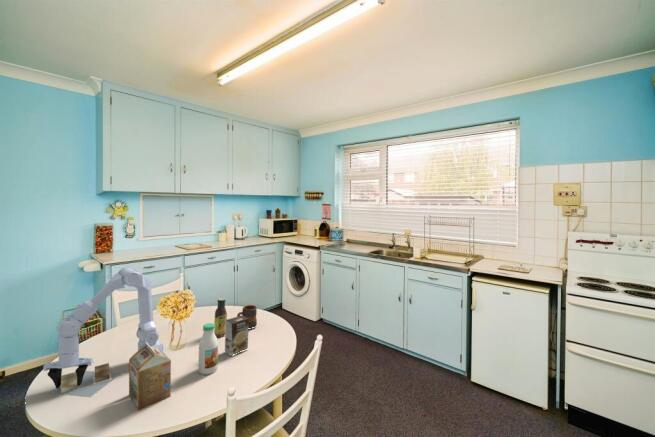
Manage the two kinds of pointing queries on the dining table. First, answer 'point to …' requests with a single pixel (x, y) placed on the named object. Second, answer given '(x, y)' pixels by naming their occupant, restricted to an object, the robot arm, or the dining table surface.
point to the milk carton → (149, 377)
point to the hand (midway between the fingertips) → (69, 385)
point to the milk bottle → (208, 350)
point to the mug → (250, 314)
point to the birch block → (68, 382)
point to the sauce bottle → (220, 318)
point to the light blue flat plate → (87, 385)
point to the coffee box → (236, 334)
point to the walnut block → (102, 372)
